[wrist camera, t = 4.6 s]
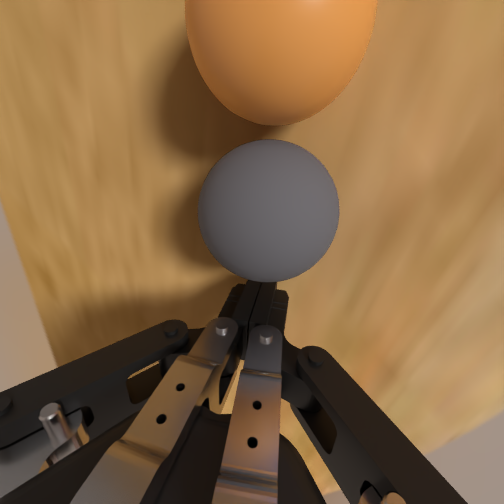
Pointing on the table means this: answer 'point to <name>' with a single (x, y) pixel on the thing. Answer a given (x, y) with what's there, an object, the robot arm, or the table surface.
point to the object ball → (278, 53)
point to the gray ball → (268, 210)
